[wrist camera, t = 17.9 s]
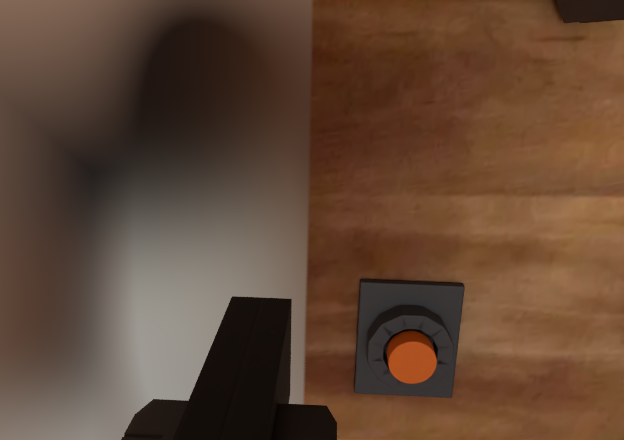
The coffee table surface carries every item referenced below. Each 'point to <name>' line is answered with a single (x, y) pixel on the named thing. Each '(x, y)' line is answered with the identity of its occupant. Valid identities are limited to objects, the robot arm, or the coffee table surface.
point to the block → (407, 317)
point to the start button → (411, 357)
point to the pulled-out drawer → (590, 10)
